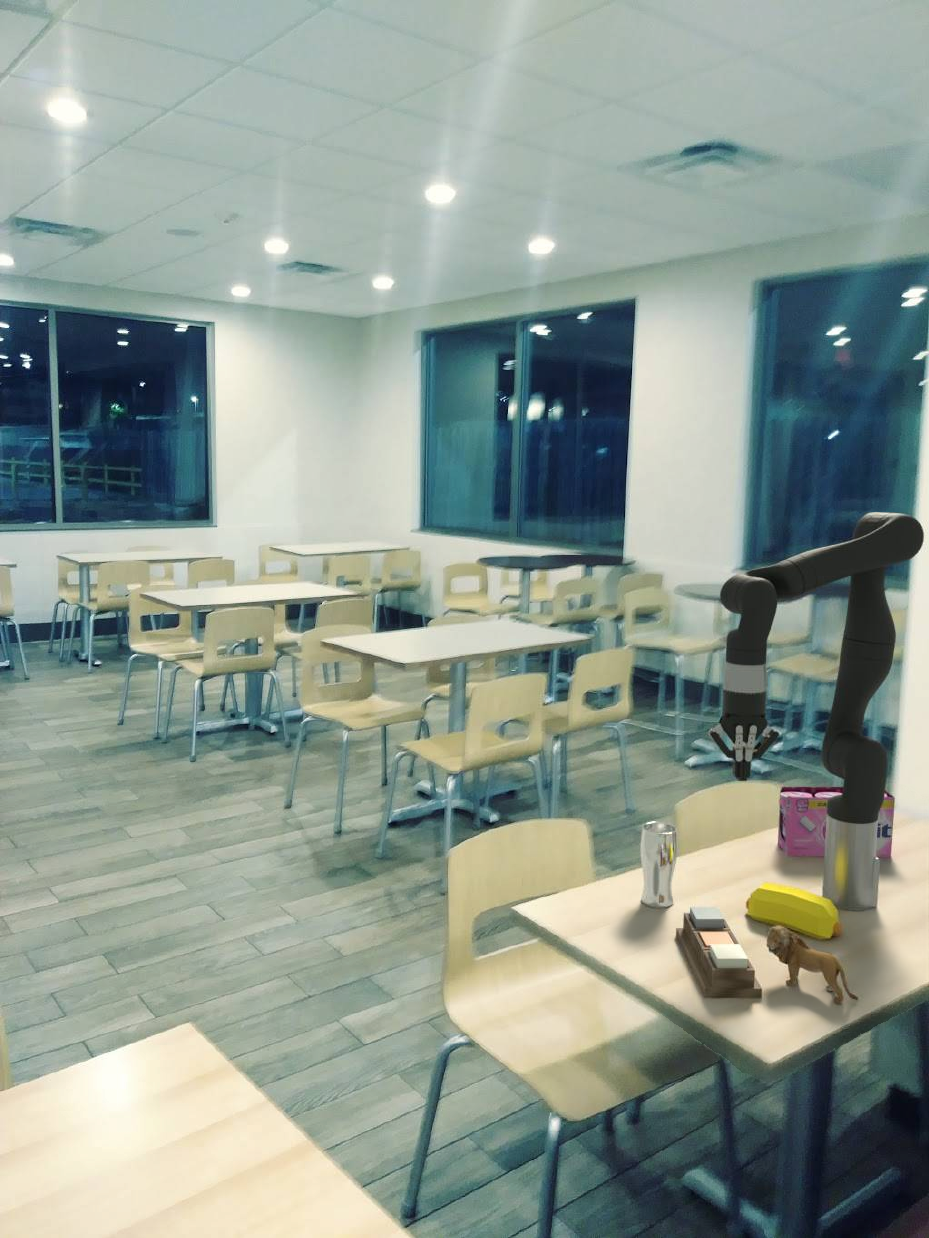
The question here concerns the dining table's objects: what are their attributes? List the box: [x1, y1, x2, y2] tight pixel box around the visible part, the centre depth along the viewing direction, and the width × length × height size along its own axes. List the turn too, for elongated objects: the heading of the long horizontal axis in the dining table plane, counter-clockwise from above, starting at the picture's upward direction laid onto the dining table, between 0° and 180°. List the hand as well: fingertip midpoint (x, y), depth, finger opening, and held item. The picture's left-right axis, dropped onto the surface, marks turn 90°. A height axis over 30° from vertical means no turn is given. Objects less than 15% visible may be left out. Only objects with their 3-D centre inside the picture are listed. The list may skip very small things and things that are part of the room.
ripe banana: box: [745, 881, 843, 941], centre depth 178 cm, size 18×7×8 cm
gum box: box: [777, 786, 896, 858], centre depth 213 cm, size 24×8×14 cm, turn 90°
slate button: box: [689, 906, 725, 928], centre depth 170 cm, size 5×5×3 cm
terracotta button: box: [699, 932, 734, 947], centre depth 163 cm, size 5×5×3 cm
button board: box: [675, 912, 763, 999], centre depth 163 cm, size 9×21×4 cm, turn 0°
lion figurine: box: [766, 925, 859, 1005], centre depth 156 cm, size 15×5×9 cm, turn 54°
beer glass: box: [639, 821, 678, 909], centre depth 187 cm, size 7×7×15 cm
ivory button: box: [710, 943, 749, 968], centre depth 156 cm, size 5×5×3 cm
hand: (741, 779), depth 177 cm, fingers closed
